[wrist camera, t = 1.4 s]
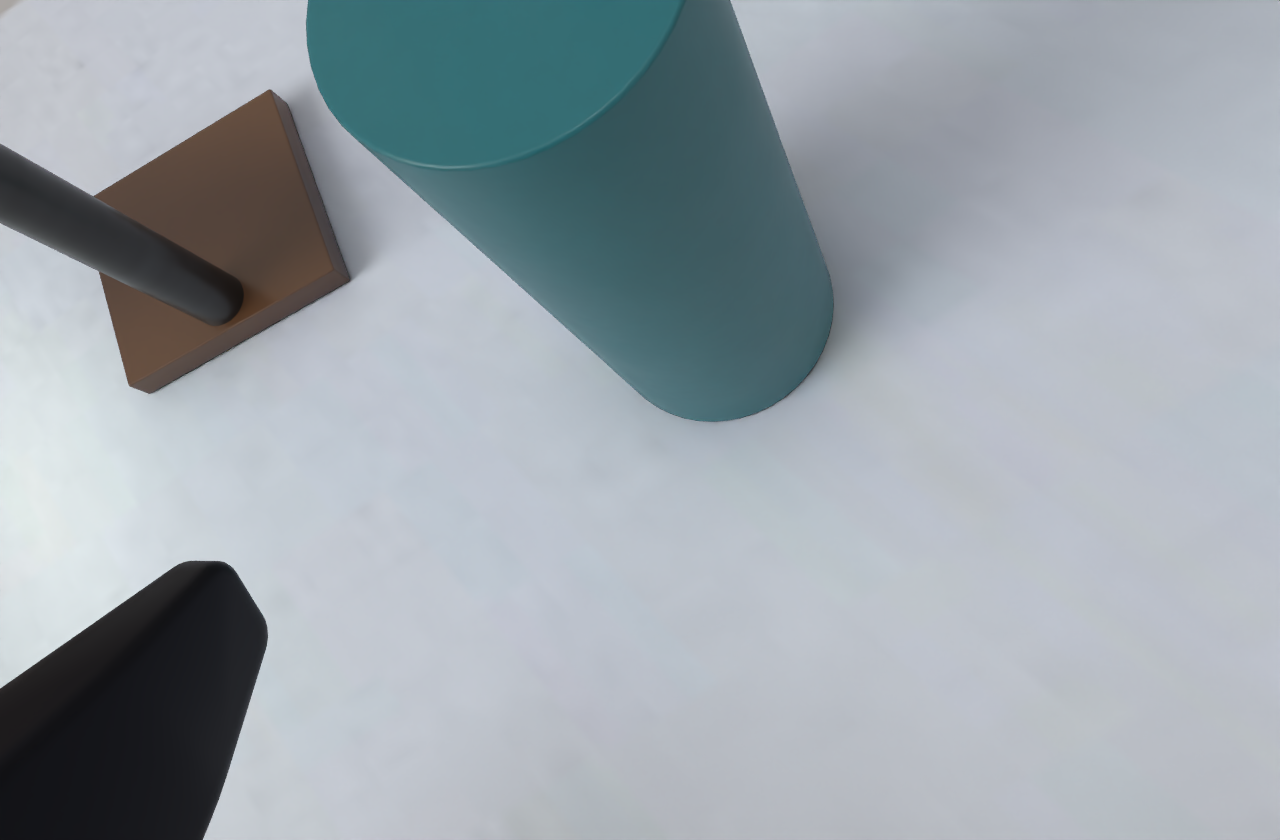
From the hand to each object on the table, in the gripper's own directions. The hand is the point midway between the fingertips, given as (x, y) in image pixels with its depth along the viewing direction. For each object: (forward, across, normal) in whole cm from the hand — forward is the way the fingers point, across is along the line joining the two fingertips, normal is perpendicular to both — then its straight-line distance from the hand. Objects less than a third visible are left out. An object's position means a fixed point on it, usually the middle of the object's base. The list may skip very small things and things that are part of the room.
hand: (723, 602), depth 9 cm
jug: (+17, +4, +6) cm, 18 cm away
